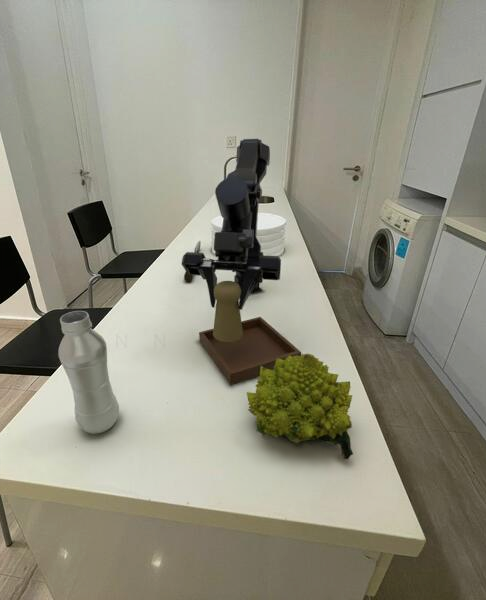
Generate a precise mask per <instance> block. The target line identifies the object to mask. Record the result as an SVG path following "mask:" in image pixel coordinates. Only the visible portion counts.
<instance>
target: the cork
mask: <svg viewBox="0 0 486 600" xmlns="http://www.w3.org/2000/svg"><path fill="white" fill-rule="evenodd" d="M214 297H215V299H216V302H215V313H214V320H213V328H212V329H213V336H214V337H215V339H217V340H219V341H222V342H234V341H237V340H239V339H240V338H241V337H242V336H243V330H242V323H241V321H242V316H241V315H242V314H241V310H239V302H240V297H241V288H240V286H239V284H238V283H236V282H234V281H233V280H223V281H220V282H217V284H216V286H215V288H214Z"/></svg>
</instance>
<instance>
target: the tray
mask: <svg viewBox="0 0 486 600" xmlns="http://www.w3.org/2000/svg"><path fill="white" fill-rule="evenodd" d="M241 323H242V330H243V336H242V337H241V338H240V339H239V340H237V341H234V342H222V341H219V340H217V339H215V337H214V336H213V328H210V329H206V330H203V331H199V332H198V338H199V343H200V345H201V346H202V347H203V349H204V350H205V352H206V353H207V355H208V356H209V358H210V359H211V360H212V362H213V363H214V364H215V366H216V367H217V369H218V370H219V372H220V373H221V374H222V375H223V377H224V378H225V380H226V381H227V382H228V384H229V386H232V385H235V384H238V383H241V382H244V381H248V380H251V379H254V378H258V377H260V368H261V366H262V367H264V368H265V369H269V370H274V366H275V362H276V358H278V359H282V360H284V361H285V358H287V357H288V356H289V355H290V356H292V357H293V355H294V356H296V355H297V356H301V355H302V351H301V350H299V349H298V347H296V346H295V345H294V344H292V343H291V342H290V341H289V340H288V339H287V338H286V337H284V336H283V334H281V333H280V332H279V331H278V330H276V328H274V326H272V325H271V324H270V323H268V321H266V320H265V319H264V318H263V317H261V316H258V317H253V318H249V319H246V320H241Z"/></svg>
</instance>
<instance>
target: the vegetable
mask: <svg viewBox="0 0 486 600" xmlns="http://www.w3.org/2000/svg"><path fill="white" fill-rule="evenodd" d="M324 363H325V361H320V360H319V358H317V357H316V356H314V355H313V354H311V353H301V356H297V355H296V356H294V355H293V357H292V356H290V355H289V356H288V357H287V358H285V361H284V360H282V359H278V358H276V362H275V366H274V370H269V369H265V368H264V367H262V366H261V368H260V376H258V377H257V379H258V380H257V381H256V384H255V385H254V386H255V387H256V389H255V392H250V391H246V397H247V402H248V405H249V407H248V409H247V411H249V412H250V413H251V414H252V415H253V416H254V417H255V423H256V432H258V433H260V434H261V435H262V436H263V437H264V436H268V435H271V436H272V437H275V438H276V439H278V437H279V436H280V437H284V438H287V439H288V441H289V442H294V443H295V444H300V443H301V442H302V441H303V442H304V441H308V440H309V441H311V440H314V441H317V443H321V442H326V443H329V444H331V445H336V446H338V445H339V447H340V451H341V455H342V458H343V460H346V461H347V460H348V461H349V459H350V457H351V456H353V455H354V452H353V450H352V444H351V443H352V442H351V437H350V435H349V432H348V430H349V429H350V428H351V429H352V427H353V423H352V420H351V416H350V415H349V414H348V412H349V409H350V408H351V402H352V399H353V394H349V393H350V391H351V381H340V382H339V381H338V378H339V374H337V373H331V372H329V366H328V364H325V365H324Z"/></svg>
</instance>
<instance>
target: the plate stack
mask: <svg viewBox="0 0 486 600" xmlns="http://www.w3.org/2000/svg"><path fill="white" fill-rule="evenodd" d="M210 223H211V224H210V225H211V227H210V228H211V229H210V230H211V251H212V253H213V255H215V251H214V238H215V232H221V231H222V225H223V217H222V216H221V214H220V215H218V216H215V217H213V218H212V219H211V221H210ZM286 225H287V219H286V218H284V217H283V216H281V215H279V214H274V213H269V212H268V213H267V212H259V211H258V220H257V235H256V237H257V239H258V241H259V243H260V245H261V252H263V255H264V256H278V257H280V256H282V254H284V252H285V239H286Z"/></svg>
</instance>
